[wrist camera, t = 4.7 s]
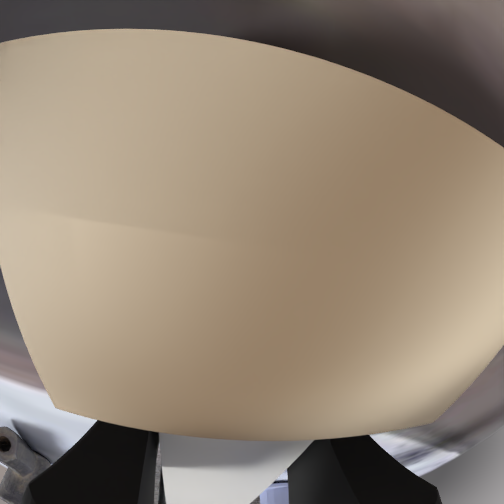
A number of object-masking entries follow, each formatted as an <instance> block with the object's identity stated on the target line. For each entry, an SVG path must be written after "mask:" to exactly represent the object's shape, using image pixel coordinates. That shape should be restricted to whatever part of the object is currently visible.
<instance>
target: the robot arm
mask: <svg viewBox="0 0 504 504" xmlns="http://www.w3.org/2000/svg"><path fill="white" fill-rule="evenodd" d="M159 442H160V440H159V432H154V431H148V430H142V429H137V428H131V427H126V426H122V425H117V424H112V423H108V422H104V421H100V420H97V422H96V423H95V424H94V425H93V426H92V427H91V428H90V429H89V430H88V431H87V433H86V434H85V435H84V436H83V437H82V438H81V439H80V440H79V441H78V442H77V443H76V444H75V445H74V446H73V447H72V448H71V449H69V450H68V451H67V452H66V453H65V454H64V455H63V456H62V457H61V458H59V459H58V460H57V461H56V462H55V463H54V464H52V465H51V466H50V467H49V468H47V469H46V470H45V471H43V472H42V473H41V474H39V475H38V476H37V477H35V478H34V479H33V480H31V481H30V482H29V483H28V485H27V487H26V489H25V492H24V495H23V497H22V500H21V504H154V491H155V474H156V461H157V453H158V447H159ZM287 472H288V483H272V484H271V485H270V486H269V487H268V488H267V489H266V490H264V491H263V492H262V493H261V494H260V504H442V502H441V499H440V496H439V492H438V490H437V487H435V486H434V485H432V484H430V483H428V482H427V481H425V480H423V479H422V478H420V477H418V476H417V475H415V474H414V473H412V472H411V471H410V470H408V469H407V468H405V467H404V466H403V465H401V464H400V463H399V462H398V461H396V460H395V459H394V458H393V457H392V456H391V455H389V454H388V453H387V452H386V451H385V450H384V449H383V448H381V447H380V446H379V445H378V444H377V443H376V442H375V441H374V440H373V439H372V438H371V437H370V436H369V435H361V436H352V437H343V438H332V439H319V440H314V441H313V442H312V443H311V444H310V445H309V446H308V447H307V448H306V450H305V451H304V452H303V453H302V454H301V455H300V456H299V457H298V458H297V459H296V460H295V461H294V462H293V463H292V464H291V465H290V466H289V467H288V468H287Z"/></svg>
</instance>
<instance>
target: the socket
mask: <svg viewBox="0 0 504 504" xmlns="http://www.w3.org/2000/svg"><path fill="white" fill-rule="evenodd" d="M0 265H1V269H2V273H3V277H4V281H5V284H6V288H7V291H8V295H9V298H10V301H11V305H12V308H13V311H14V314H15V317H16V320H17V322H18V325H19V328H20V331H21V333H22V336H23V339H24V341H25V344H26V346H27V349H28V351H29V353H30V356H31V358H32V361H33V363H34V365H35V367H36V370H37V372H38V374H39V376H40V378H41V380H42V382H43V384H44V386H45V389H46V391H47V392H48V394H49V396H50V398H51V400H52V402H53V404H54V406H55V408H57V409H60V410H63V411H67V412H70V413H73V414H77V415H81V416H84V417H88V418H92V419H96V420H100V421H104V422H108V423H112V424H117V425H122V426H126V427H131V428H137V429H142V430H148V431H154V432H160V433H167V434H174V435H181V436H190V437H200V438H211V439H224V440H244V441H299V440H319V439H332V438H343V437H352V436H361V435H369V434H376V433H382V432H388V431H394V430H400V429H405V428H410V427H415V426H420V425H424V424H429V423H433V422H434V421H435V420H437V419H438V418H439V417H440V416H441V415H442V414H443V413H444V412H445V411H446V410H447V409H448V408H449V407H450V406H451V405H452V404H453V403H454V402H455V401H456V400H457V399H458V398H459V397H460V396H461V395H462V394H463V393H464V391H465V390H466V389H467V388H468V387H469V386H470V385H471V384H472V383H473V382H474V380H475V379H476V378H477V377H478V376H479V375H480V374H481V372H482V371H483V370H484V369H485V368H486V367H487V365H488V364H489V363H490V362H491V360H492V359H493V358H494V357H495V355H496V354H497V353H498V352H499V350H500V349H501V348H502V346H503V345H504V148H503V147H502V146H500V145H499V144H497V143H496V142H495V141H493V140H492V139H490V138H489V137H487V136H486V135H484V134H482V133H481V132H479V131H478V130H476V129H475V128H473V127H471V126H470V125H468V124H466V123H465V122H463V121H461V120H460V119H458V118H456V117H454V116H453V115H451V114H449V113H447V112H445V111H444V110H442V109H440V108H438V107H436V106H434V105H432V104H430V103H428V102H426V101H424V100H422V99H420V98H418V97H416V96H414V95H412V94H410V93H408V92H406V91H404V90H401V89H399V88H397V87H395V86H392V85H390V84H388V83H385V82H383V81H381V80H378V79H376V78H373V77H371V76H368V75H366V74H363V73H360V72H358V71H355V70H352V69H350V68H347V67H344V66H341V65H338V64H335V63H332V62H329V61H326V60H323V59H319V58H316V57H313V56H309V55H306V54H302V53H299V52H295V51H291V50H287V49H283V48H279V47H275V46H271V45H266V44H261V43H257V42H252V41H247V40H241V39H235V38H229V37H223V36H216V35H209V34H201V33H192V32H182V31H169V30H151V29H101V30H83V31H71V32H62V33H53V34H46V35H39V36H33V37H27V38H22V39H17V40H12V41H7V42H3V43H0Z"/></svg>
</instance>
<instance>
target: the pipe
mask: <svg viewBox="0 0 504 504" xmlns="http://www.w3.org/2000/svg"><path fill="white" fill-rule="evenodd" d="M0 462H1V463H3V464H4V465H6V466H7V467H8V469H7V471H6V473H5V475H4V477H3V480H2V482H1V484H0V499H2V500H3V501H5V502H7V503H8V504H21V500H22V497H23V495H24V492H25V489H26V487H27V485H28V483H29V482H30V481H31V480H33V479H34V478H35V477H37V476H38V475H39V474H41V473H42V472H43V471H45V470H46V469H47V468H49V467H50V466H51V465H50V463H49V461H48V460H47V459H45V458H44V457H42V456H41V455H39V454H37V453H36V452H34V451H33V450H31V448H30V447H29V446H28V445H27V444H26V443H25V442H24V441H23V440H22V439H21V438H20V437H19V435H17V434H16V433H15V432H14V431H12V430H11V429H9V428H8V427H5V426H4V427H0Z"/></svg>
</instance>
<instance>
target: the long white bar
mask: <svg viewBox="0 0 504 504" xmlns="http://www.w3.org/2000/svg"><path fill="white" fill-rule="evenodd" d="M159 440H160V452H161V463H162V473H163V482H164V490H165V498H166V504H250V503H251V502H252V501H253V500H255V499H256V498H257V497H258V496H259V495H260V494H261V493H262V492H263V491H264V490H266V489H267V488H268V487H269V486H270V485H271V484H272V483H273V482H274V481H275V480H276V479H277V478H278V477H279V476H280V475H281V474H282V473H283V472H284V471H285V470H286V469H287V468H288V467H289V466H290V465H291V464H292V463H293V462H294V461H295V460H296V459H297V458H298V457H299V456H300V455H301V454H302V453H303V452H304V451H305V450H306V448H307V447H308V446H309V445H310V444H311V443H312V442H313V441H314V440H299V441H244V440H224V439H211V438H200V437H190V436H181V435H174V434H167V433H160V432H159Z"/></svg>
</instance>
